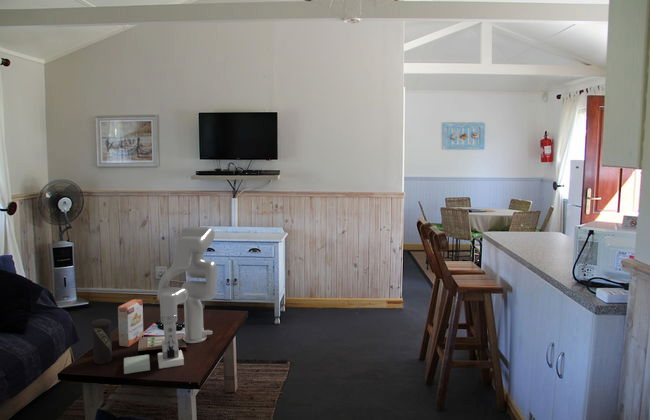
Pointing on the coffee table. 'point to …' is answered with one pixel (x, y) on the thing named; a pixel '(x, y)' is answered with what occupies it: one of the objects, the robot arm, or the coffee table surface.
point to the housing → (165, 348)
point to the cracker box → (130, 322)
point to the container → (101, 341)
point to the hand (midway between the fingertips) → (170, 354)
